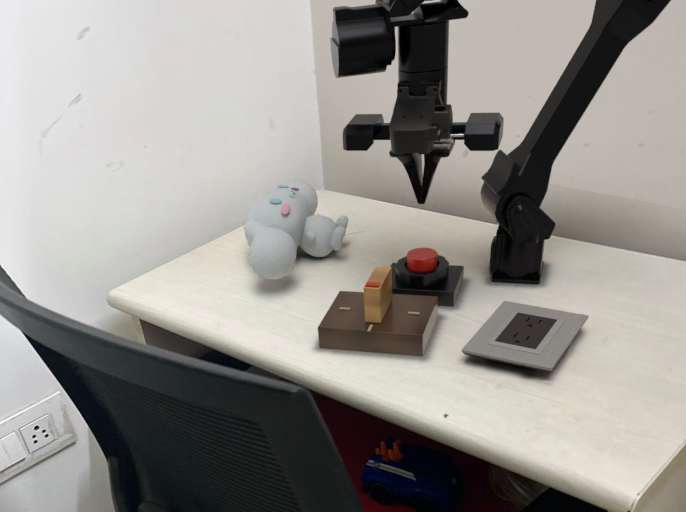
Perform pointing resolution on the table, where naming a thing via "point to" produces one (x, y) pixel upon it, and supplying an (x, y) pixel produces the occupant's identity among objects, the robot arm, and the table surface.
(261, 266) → the toy
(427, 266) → the button
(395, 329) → the panel
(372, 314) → the knob
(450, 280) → the button box
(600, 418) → the table surface
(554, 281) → the table surface
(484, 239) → the table surface
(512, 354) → the electrical outlet
